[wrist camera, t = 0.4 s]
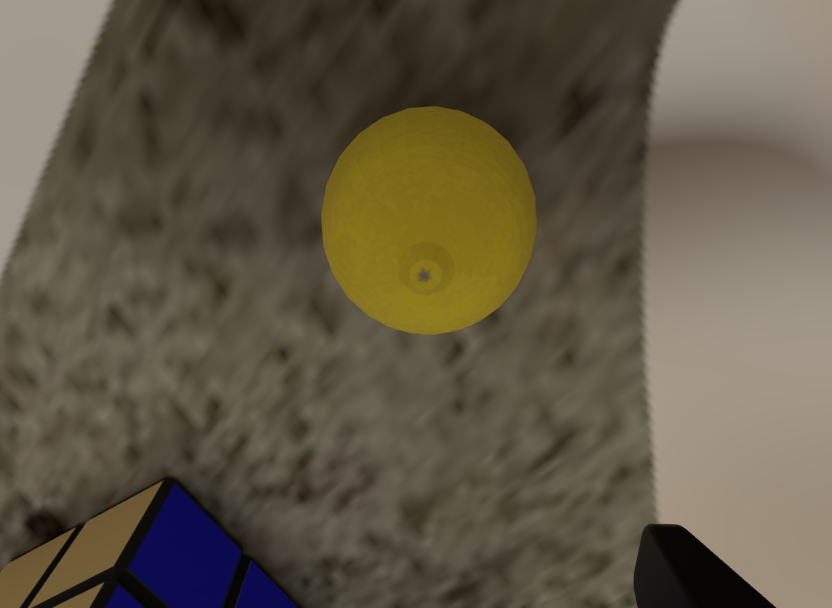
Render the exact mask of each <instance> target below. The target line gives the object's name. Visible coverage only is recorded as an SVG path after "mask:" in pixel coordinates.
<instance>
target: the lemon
mask: <svg viewBox="0 0 832 608" xmlns="http://www.w3.org/2000/svg"><path fill="white" fill-rule="evenodd" d="M321 222H322V235H323V246H324V250H325V253H326V256H327V258H328V261H329V264H330V267H331V269H332V272H333V275H334V277H335V278H336V280H337V281H338V283H339V284H340V286H341V287H342V289H343V290H344V292H345V293H346V295H347V296H348V298H349V299H350V300H352V301H353V302H354V303H355V304H356V305H357V306H358V307H359V308H360V309H361V310H362V311H364V312H365V313H366V314H367V315H368V316H370V317H372V318H373V319H375V320H377V321H379V322H381V323H382V324H384V325H386V326H388V327H391V328H394V329H398V330H401V331H405V332H408V333H416V334H432V335H435V334H441V333H446V332H452V331H458V330H460V329H462V328H465V327H467V326H470V325H472V324H475V323H477V322H479V321H480V320H482V319H483V318H485V317H486V316H487V315H489V314H490V313H492V312H493V311H494V310H496V309H497V308H499V307H500V306H501V305H502V304H503V303H504V301H505V300H506V299H507V298H508V297H509V296H510V294H511V293H512V292H513V291H514V290H515V288H516V287H517V286H518V284H519V282H520V280H521V278H522V276H523V274H524V272H525V270H526V268H527V266H528V263H529V261H530V259H531V255H532V250H533V245H534V241H535V236H536V231H537V217H536V201H535V194H534V191H533V188H532V185H531V182H530V179H529V176H528V173H527V170H526V167H525V165H524V164H523V162H522V161H521V159H520V158H519V156H518V155H517V154H516V152H515V151H514V149H513V148H512V146H511V145H510V143H509V142H508V141H507V140H506V139H505V138H504V137H503V136H501V135H500V134H499V133H498V132H497V131H496V130H495V129H493V128H492V127H491V126H490V125H489V124H488V123H486V122H484V121H482V120H479V119H477V118H475V117H473V116H471V115H469V114H467V113H465V112H463V111H459V110H453V109H448V108H443V107H437V106H430V107H417V108H408V109H405V110H402V111H399V112H396V113H394V114H391V115H388V116H385V117H383V118H381V119H379V120H378V121H376V122H375V123H374V124H372V125H371V126H369V127H368V128H366V129H365V130H363V131H362V132H360V133H359V134H358V135H357V136H356V138H355V139H354V140H353V141H352V142H351V143H350V145H349V146H348V147H347V148H346V149H345V150H344V152H343V153H342V154H341V155H340V156H339V158H338V161H337V163H336V165H335V167H334V169H333V171H332V173H331V175H330V178H329V180H328V182H327V184H326V190H325V195H324V201H323V206H322V212H321Z"/></svg>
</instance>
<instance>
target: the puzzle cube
mask: <svg viewBox="0 0 832 608" xmlns="http://www.w3.org/2000/svg"><path fill="white" fill-rule="evenodd" d="M241 556H242V550H241V549H240V548H239V547H238V546H237V545H236V544H235V543H234V542H233V541H232V540H231V539H230V538H229V537H228V536H227V534H226V533H225V532H224V531H223V530H222V529H221V528H220V527H219V526H218V525H217V524H216V523H215V522H214V521H213V520H212V519H211V518H210V517H209V516H208V515H207V514H206V513H205V512H204V511H203V510H202V509H201V508H200V507H199V506H198V505H197V504H196V503H195V502H194V501H193V500H192V499H191V498H190V497H189V496H188V495H187V494H186V493H185V492H184V491H183V490H182V489H181V488H180V487H179V486H178V485H177V484H176V483H175V482H174V481H173V480H163V481H161V482H159V483H157V484H155V485H154V486H152V487H150V488H148V489H146V490H144V491H142V492H141V493H139V494H137V495H135V496H133V497H131V498H130V499H128V500H126V501H124V502H122V503H120V504H118V505H117V506H115V507H113V508H111V509H109V510H107V511H105V512H104V513H102V514H100V515H98V516H96V517H94V518H92V519H91V520H89V521H87V522H86V524H85V525H84V526H81V527H75V528H73V529H71V530H70V531H68V532H66V533H64V534H62V535H60V536H58V537H57V538H55V539H53V540H51V541H49V542H47V543H46V544H44V545H42V546H40V547H38V548H36V549H34V550H33V551H31V552H29V553H27V554H25V555H23V556H21V557H20V558H18V559H16V560H14V561H12V562H10V563H8V564H7V565H6V566H5V567H4V568H3V570H2V571H1V572H0V608H298V607H297V606H296V605H295V604H294V603H293V602H292V601H291V600H290V599H289V598H288V597H287V596H286V595H285V594H284V593H283V592H282V591H281V590H280V589H279V588H278V587H277V586H276V585H275V584H274V583H273V582H272V581H271V580H270V579H269V578H268V577H267V576H266V575H265V574H264V572H263V571H262V570H261V569H260V568H259V567H258V566H257V565H256V564H255V563H254V562H253V561H252V560H251V559H249V558H248V557H245V558H241Z"/></svg>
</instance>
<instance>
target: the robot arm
mask: <svg viewBox="0 0 832 608" xmlns="http://www.w3.org/2000/svg"><path fill="white" fill-rule="evenodd" d="M634 592H635V597H636V602H637V606H638V608H776V607H775V606H774V605H773V604H771V603H770V602H769V601H768V600H767V599H766V598H765V597H763V596H762V595H761V594H760V593H759V592H758V591H757V590H755V589H754V588H753V587H752V586H751V585H750V584H749V583H747V582H746V581H745V580H744V579H743V578H742V577H740V576H739V575H738V574H737V573H736V572H734V571H733V570H732V569H731V568H730V567H729V566H728V565H727V564H725V563H724V562H723V561H722V560H721V559H720V558H719V557H718V556H716V555H715V554H714V553H713V552H712V551H710V550H709V549H708V548H707V547H706V546H705V545H704V544H703V543H701V542H700V541H699V540H698V539H697V538H695V536H693V535H692V534H691V533H690V532H689V531H688V530H686V529H685V528H684V527H682V526H680V525H675V524H649V525H647V526H646V527H645V528H644V530H643V533H642V537H641V542H640V546H639V551H638V556H637V561H636V566H635V570H634Z"/></svg>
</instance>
